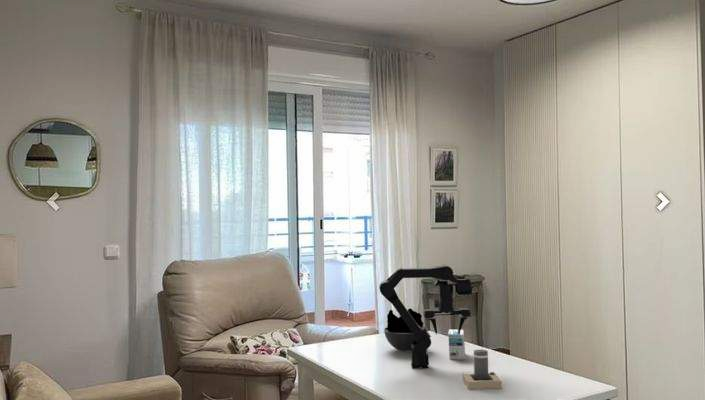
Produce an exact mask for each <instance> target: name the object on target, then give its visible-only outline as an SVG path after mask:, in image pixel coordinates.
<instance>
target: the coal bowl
mask: <svg viewBox="0 0 705 400" xmlns="http://www.w3.org/2000/svg"><path fill="white" fill-rule="evenodd" d="M407 310H408V312H409V313H410V315H411V316H412V318H413V319H414V320H415V322H416V323H417V324H418V325H419V326H420V327H421V328H422V327H423V326H424V322H423V320H422V318H423V316H422V314H421V312H417V311H415V310H413V309H412V308H408V309H407ZM386 322H387V325H386V326H387V327H385V328H384V330H383V332H384V335H385V339H386V340H387V342H388V343H389V344H390V346H392V347H393V348H394V349H396V350H398V351H401V352H411V350H413V349H412V346H411V344H412V342H413V341H414V340H415V338H414V336H413V334H412V331H411V330H410V329H409V327H408V326H407V324H406V323H405V321H404V320H403V319H402V317H401V316H400V315H399V316H398V315H396V314H394V311H393V310H392V309H390V310H388V313H387V321H386ZM424 327H425V329H426V331H427V332H428V333H429V328H428V327H427V326H424Z"/></svg>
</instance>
